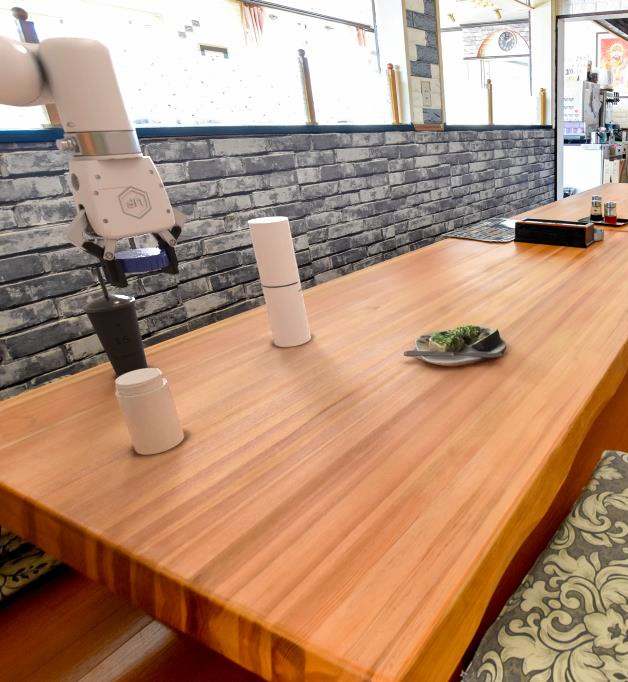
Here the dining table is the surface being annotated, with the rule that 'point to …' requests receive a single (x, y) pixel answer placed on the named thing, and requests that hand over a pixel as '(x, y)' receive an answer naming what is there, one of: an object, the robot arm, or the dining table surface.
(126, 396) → the jar
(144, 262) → the lid
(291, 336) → the cylindrical container
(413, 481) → the dining table surface
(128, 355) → the drinking cup
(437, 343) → the salad plate
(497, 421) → the dining table surface
